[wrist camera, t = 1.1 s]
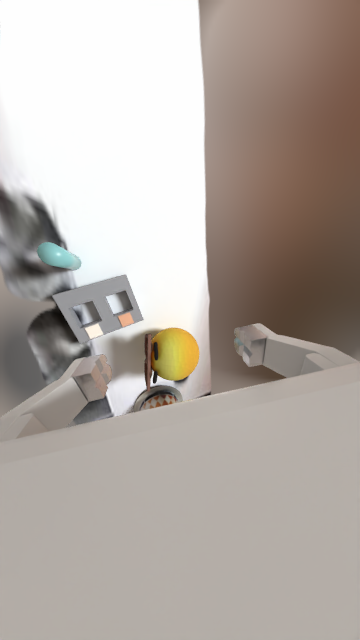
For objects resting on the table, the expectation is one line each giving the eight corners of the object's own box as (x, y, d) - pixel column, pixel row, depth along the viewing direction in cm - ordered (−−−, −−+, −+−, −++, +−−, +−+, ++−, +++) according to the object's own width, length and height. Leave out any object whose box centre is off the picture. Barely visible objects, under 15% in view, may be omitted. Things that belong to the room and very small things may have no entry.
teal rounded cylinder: (61, 266, 35) (35, 260, 24) (65, 251, 35) (39, 238, 24) (79, 272, 37) (61, 268, 26) (82, 257, 36) (66, 248, 25)
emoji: (141, 321, 45) (150, 339, 32) (188, 320, 51) (212, 334, 38) (141, 367, 49) (149, 400, 36) (185, 361, 55) (205, 387, 41)
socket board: (56, 294, 36) (51, 295, 33) (125, 274, 41) (125, 274, 38) (83, 339, 41) (80, 344, 38) (142, 317, 45) (143, 320, 42)
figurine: (133, 429, 55) (135, 499, 36) (133, 386, 51) (134, 440, 33) (180, 418, 60) (201, 474, 42) (182, 378, 57) (206, 421, 39)
